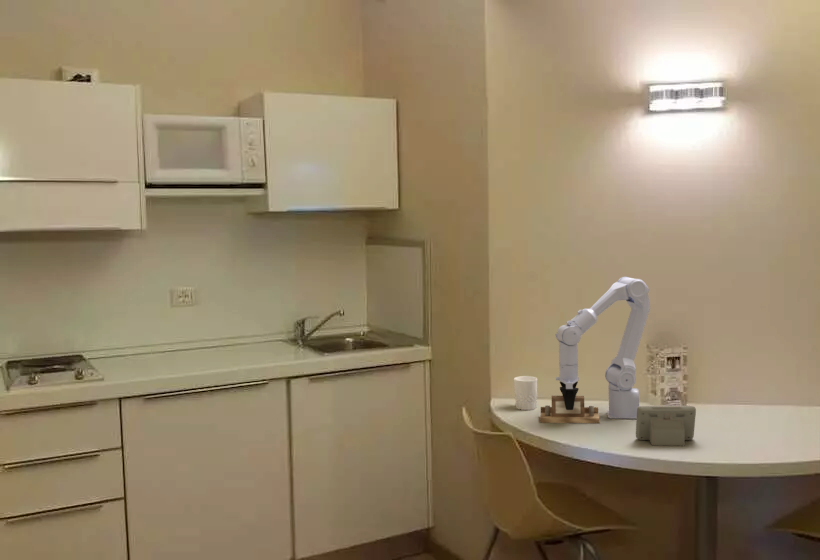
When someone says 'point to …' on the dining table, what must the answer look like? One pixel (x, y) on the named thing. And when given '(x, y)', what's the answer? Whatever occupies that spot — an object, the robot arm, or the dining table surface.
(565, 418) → the wooden stand base
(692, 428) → the digital clock
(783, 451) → the dining table surface
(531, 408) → the white cup
